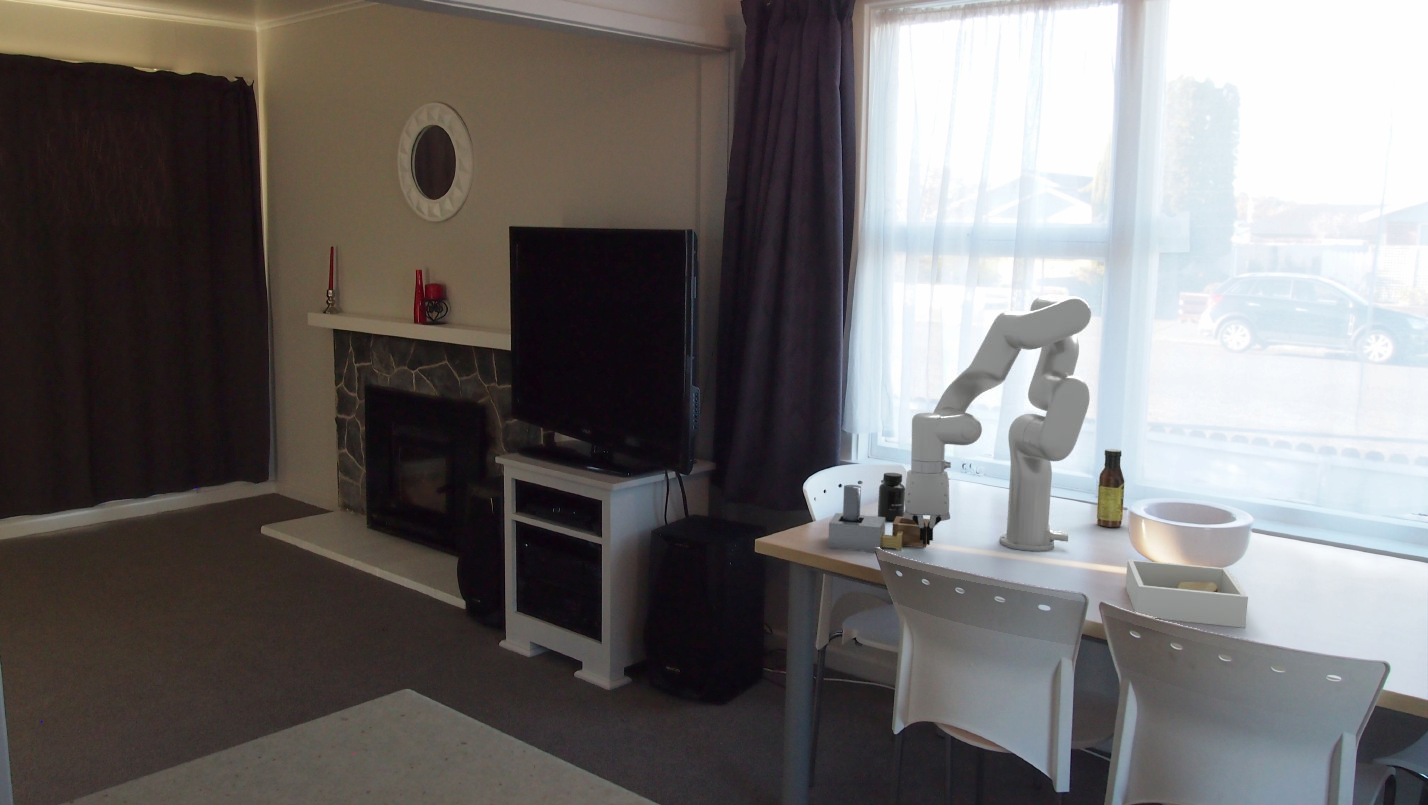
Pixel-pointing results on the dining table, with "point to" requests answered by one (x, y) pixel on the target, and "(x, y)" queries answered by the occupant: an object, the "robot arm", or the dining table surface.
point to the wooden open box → (909, 531)
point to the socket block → (856, 533)
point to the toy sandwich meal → (1198, 586)
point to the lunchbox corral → (1185, 593)
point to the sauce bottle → (1111, 491)
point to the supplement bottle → (891, 497)
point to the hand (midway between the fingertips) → (926, 543)
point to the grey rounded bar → (851, 503)
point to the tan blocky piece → (893, 541)
